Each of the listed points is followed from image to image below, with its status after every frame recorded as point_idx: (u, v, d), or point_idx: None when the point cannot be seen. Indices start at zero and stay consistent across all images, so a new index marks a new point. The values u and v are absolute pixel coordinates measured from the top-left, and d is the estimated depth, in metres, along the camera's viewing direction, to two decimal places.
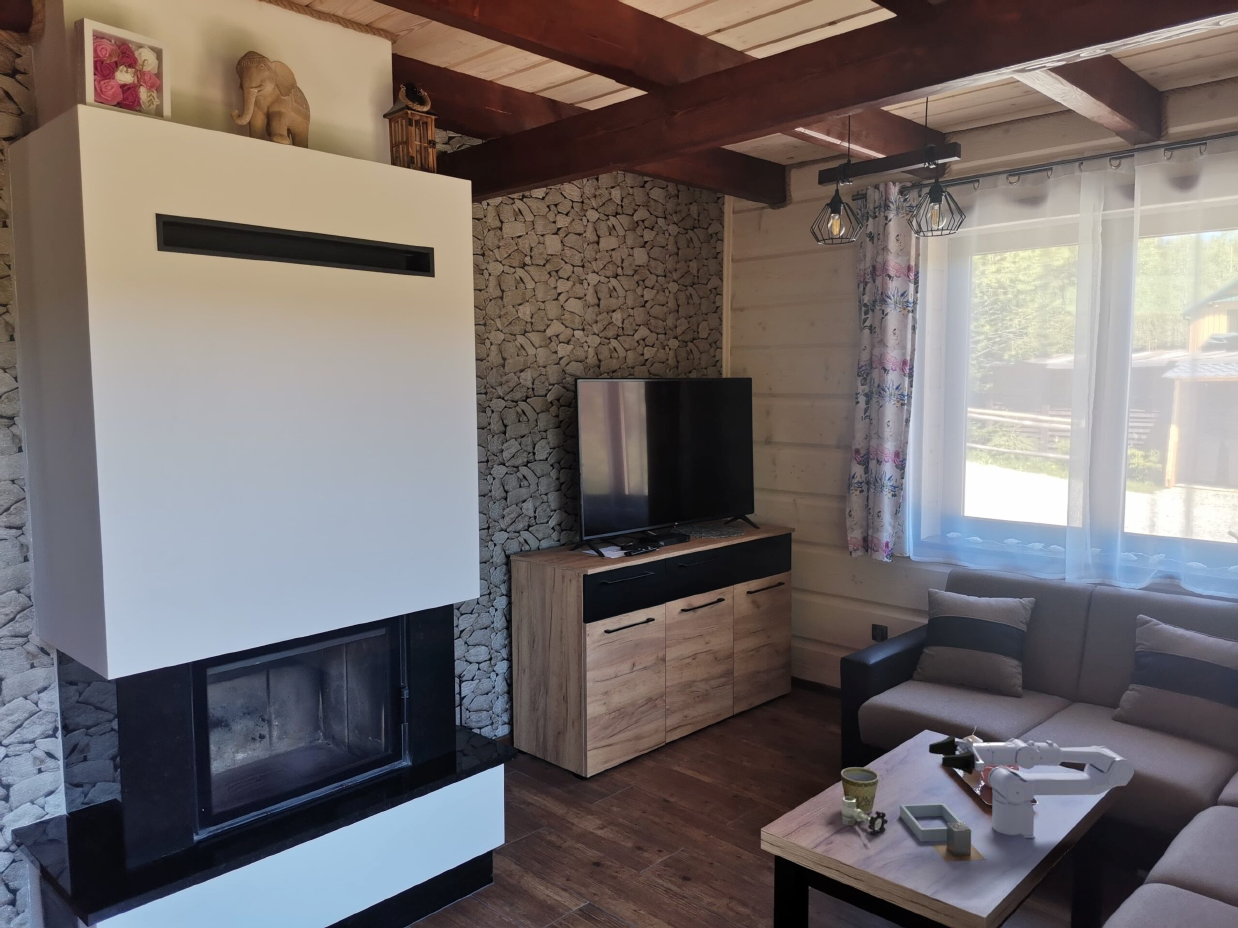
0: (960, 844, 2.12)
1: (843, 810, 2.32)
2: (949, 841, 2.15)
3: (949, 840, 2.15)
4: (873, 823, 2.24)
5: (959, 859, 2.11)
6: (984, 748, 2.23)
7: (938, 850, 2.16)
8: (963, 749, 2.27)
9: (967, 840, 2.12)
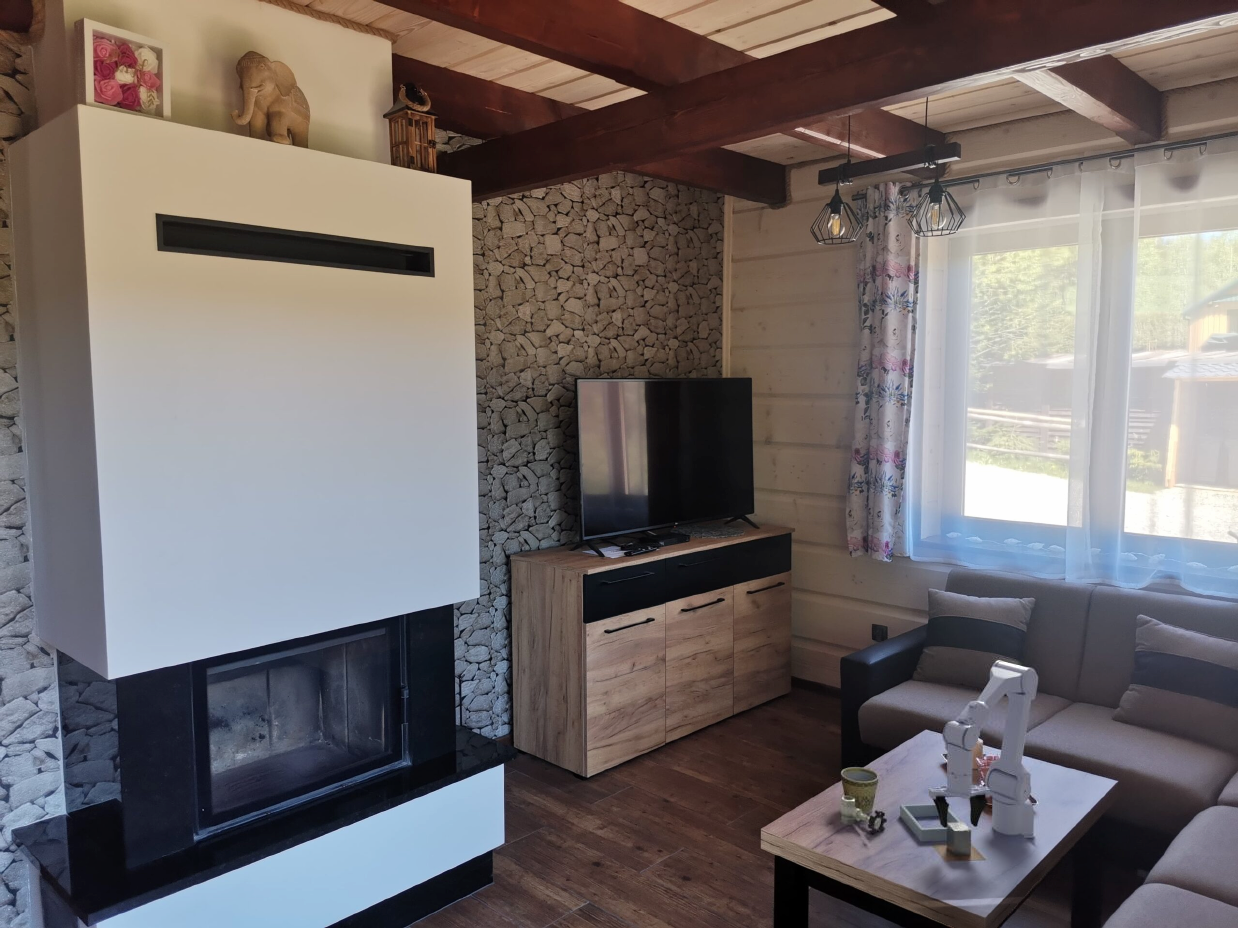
0: (960, 844, 2.12)
1: (842, 809, 2.32)
2: (949, 841, 2.15)
3: (949, 840, 2.15)
4: (872, 822, 2.24)
5: (959, 859, 2.11)
6: (970, 781, 2.11)
7: (938, 850, 2.16)
8: None
9: (967, 840, 2.12)
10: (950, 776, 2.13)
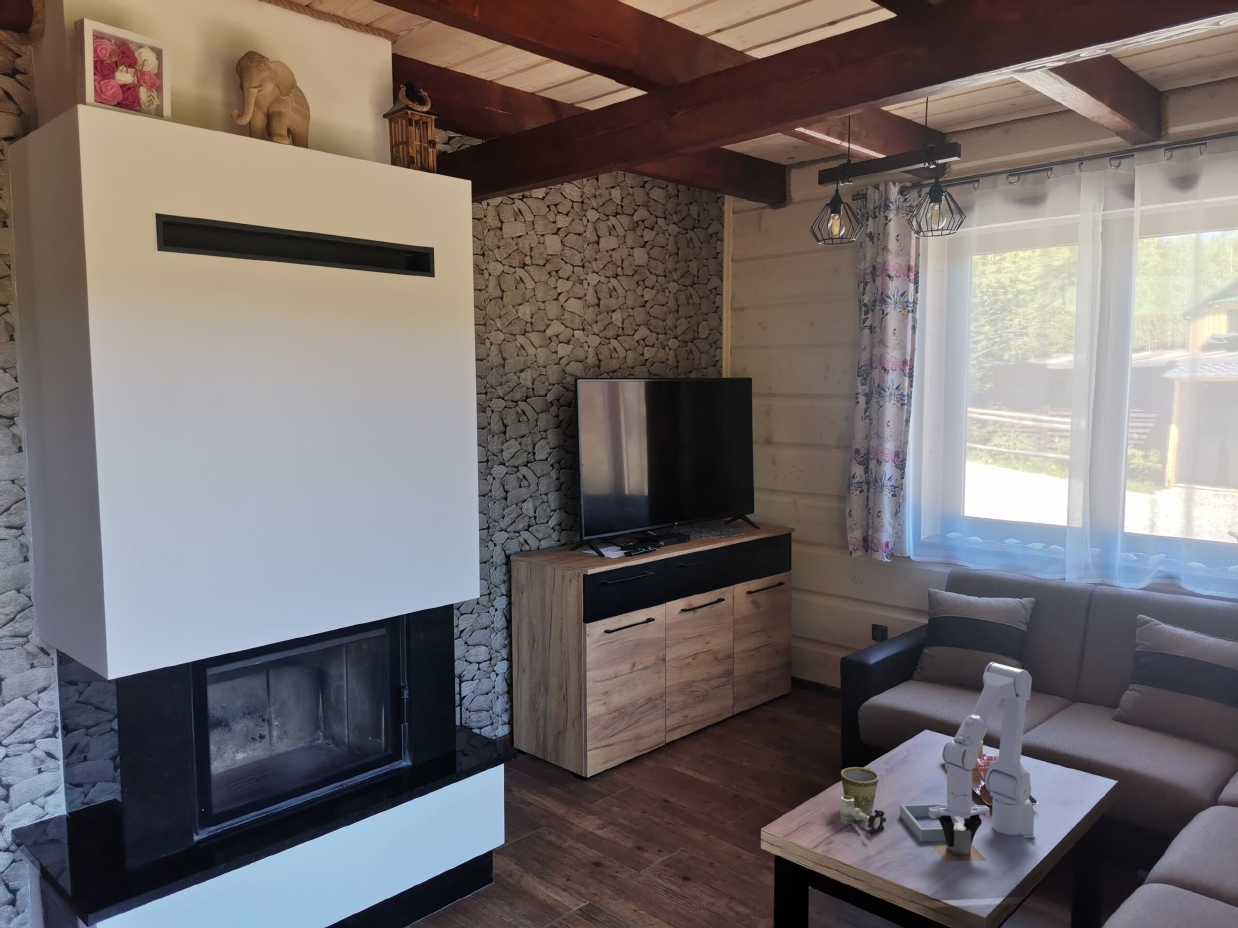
0: (960, 844, 2.12)
1: (841, 809, 2.32)
2: None
3: None
4: (872, 822, 2.25)
5: (959, 859, 2.11)
6: (970, 801, 2.12)
7: (938, 850, 2.16)
8: None
9: (967, 840, 2.12)
10: (950, 796, 2.13)
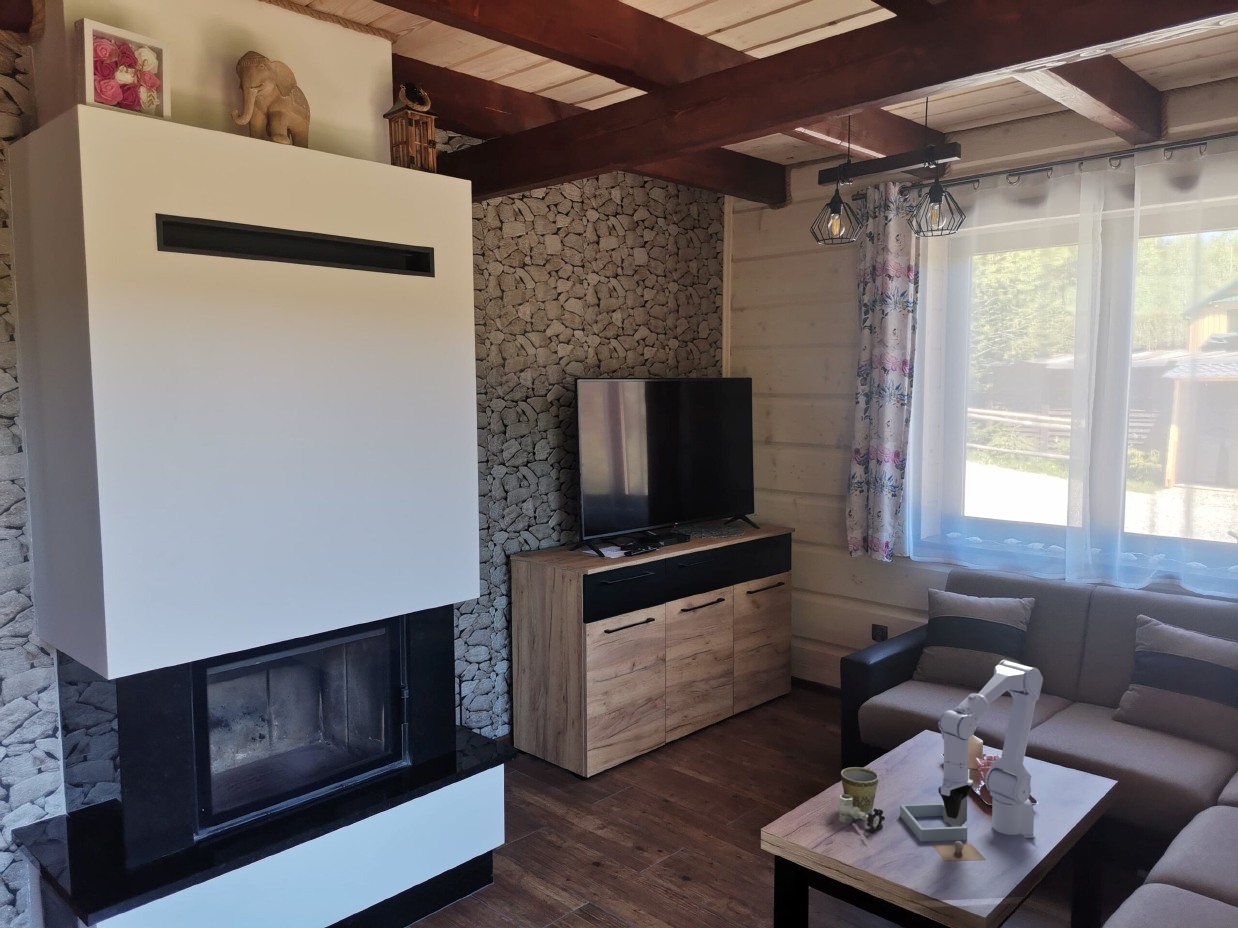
0: (963, 812, 2.14)
1: (840, 808, 2.33)
2: None
3: None
4: (871, 820, 2.25)
5: (959, 859, 2.11)
6: None
7: (938, 850, 2.16)
8: None
9: (965, 806, 2.15)
10: (955, 767, 2.13)
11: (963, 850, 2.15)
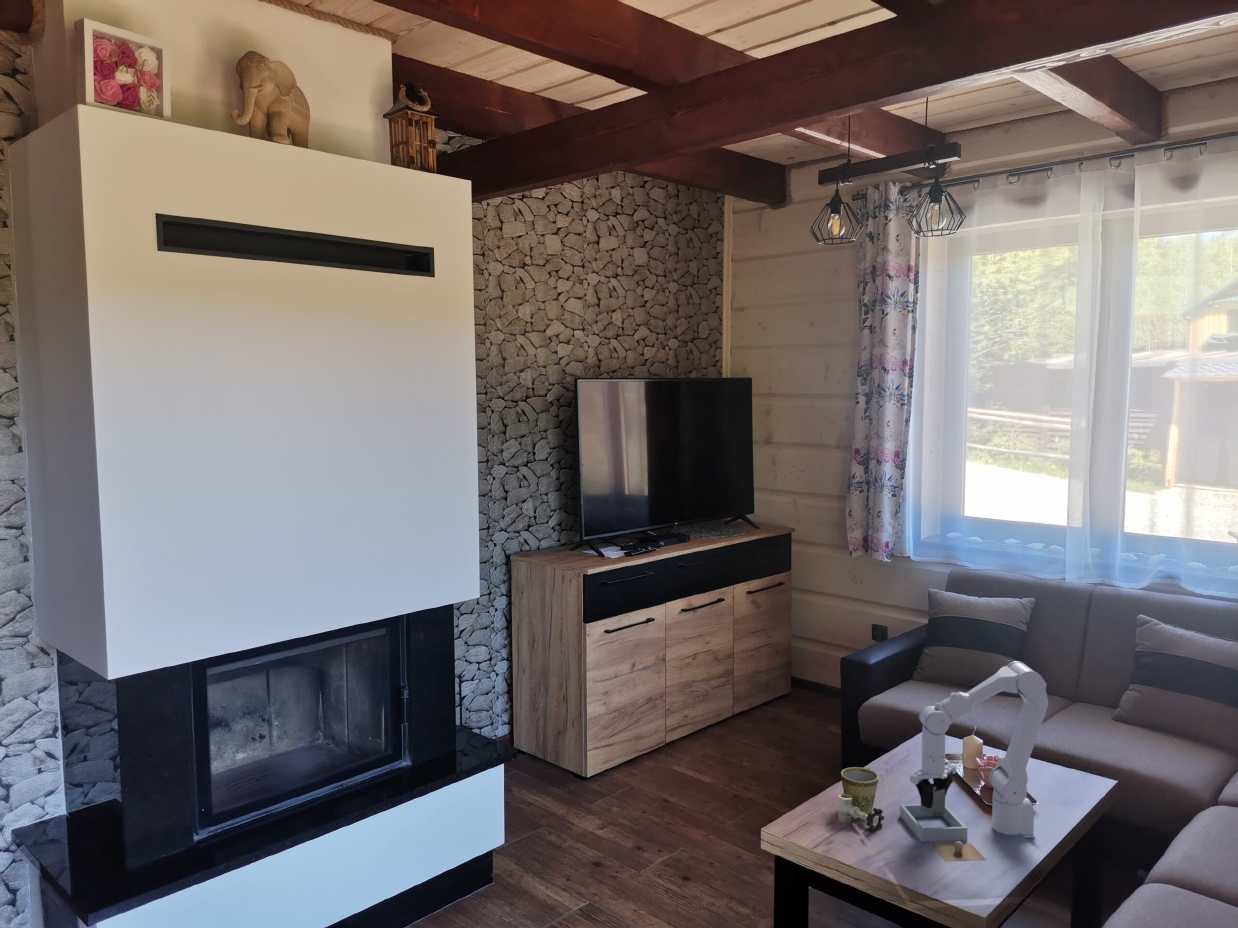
0: (937, 804, 2.25)
1: (839, 808, 2.33)
2: None
3: None
4: (871, 820, 2.26)
5: (959, 859, 2.11)
6: None
7: (938, 850, 2.16)
8: None
9: (942, 798, 2.26)
10: (928, 760, 2.25)
11: (963, 850, 2.15)
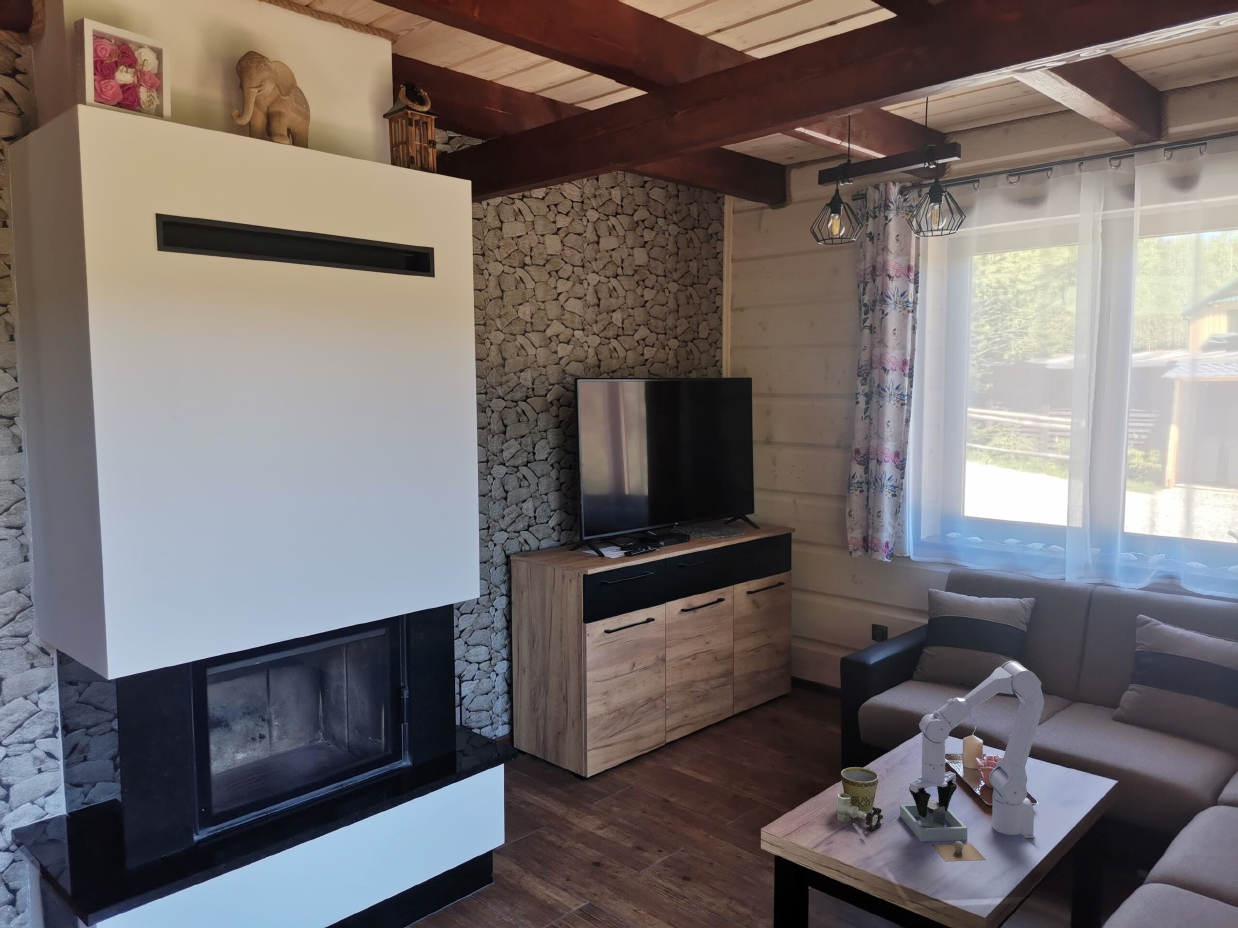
0: (937, 821, 2.25)
1: (838, 807, 2.33)
2: (925, 820, 2.27)
3: (925, 819, 2.27)
4: (870, 819, 2.26)
5: (959, 859, 2.11)
6: (944, 770, 2.25)
7: (938, 850, 2.16)
8: None
9: (942, 816, 2.26)
10: (928, 768, 2.25)
11: (963, 850, 2.15)
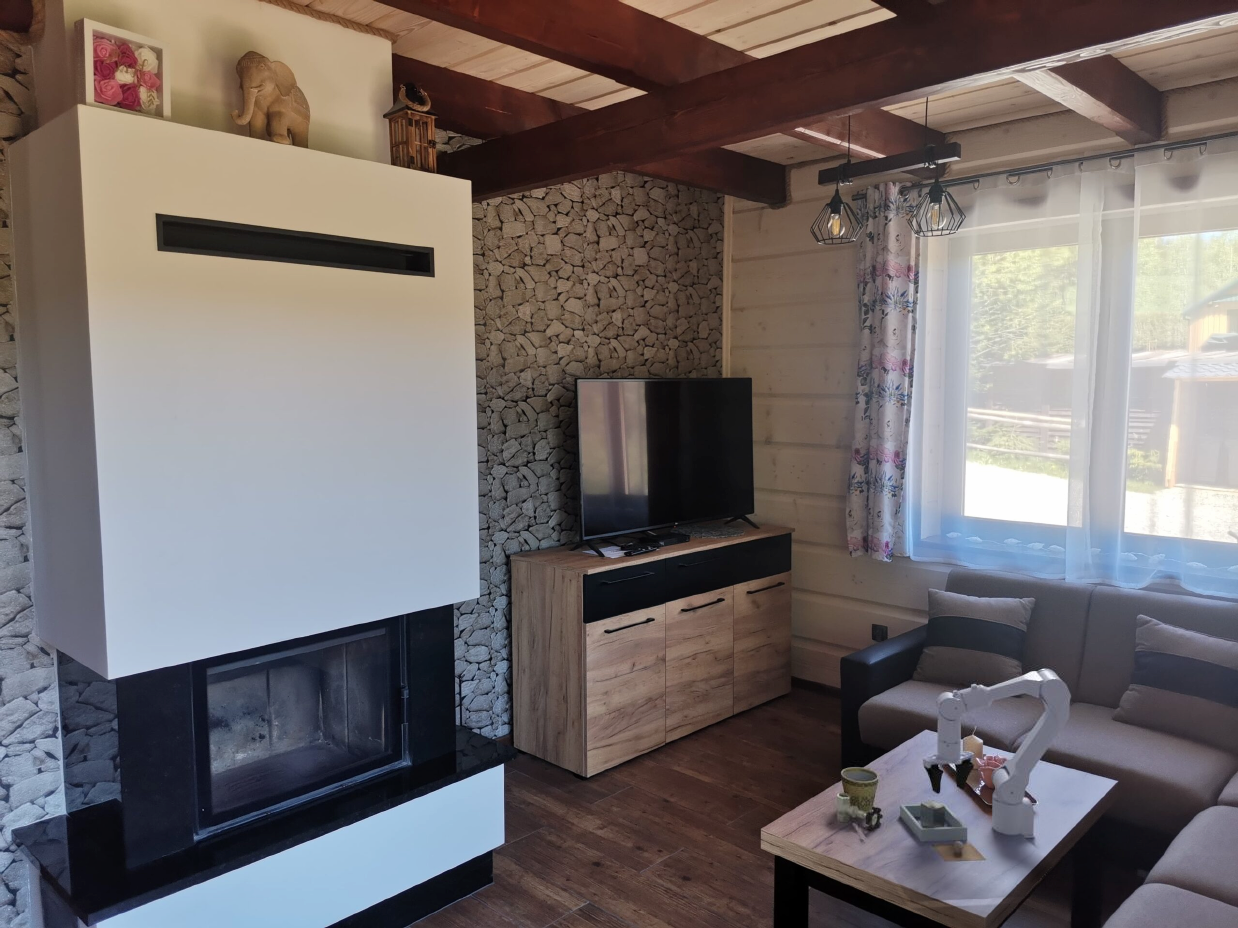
0: (937, 821, 2.25)
1: (838, 807, 2.34)
2: (925, 820, 2.27)
3: (925, 819, 2.27)
4: (870, 818, 2.26)
5: (959, 859, 2.11)
6: (960, 748, 2.27)
7: (938, 850, 2.16)
8: None
9: (942, 816, 2.26)
10: (942, 745, 2.27)
11: (963, 850, 2.15)
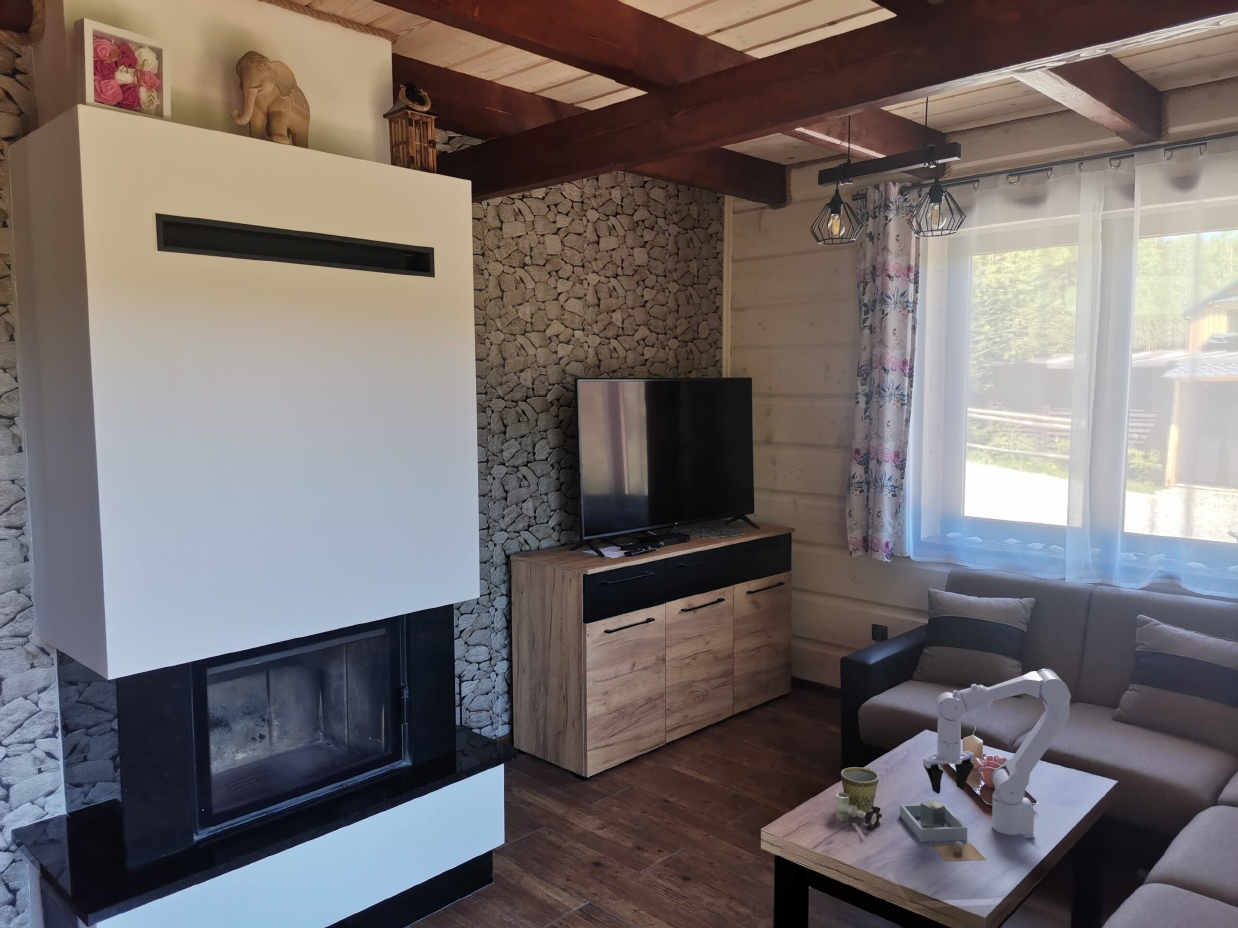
0: (937, 821, 2.25)
1: (837, 806, 2.34)
2: (925, 820, 2.27)
3: (925, 819, 2.27)
4: (870, 818, 2.27)
5: (959, 859, 2.11)
6: (960, 748, 2.27)
7: (938, 850, 2.16)
8: None
9: (942, 816, 2.26)
10: (942, 745, 2.27)
11: (963, 850, 2.15)
